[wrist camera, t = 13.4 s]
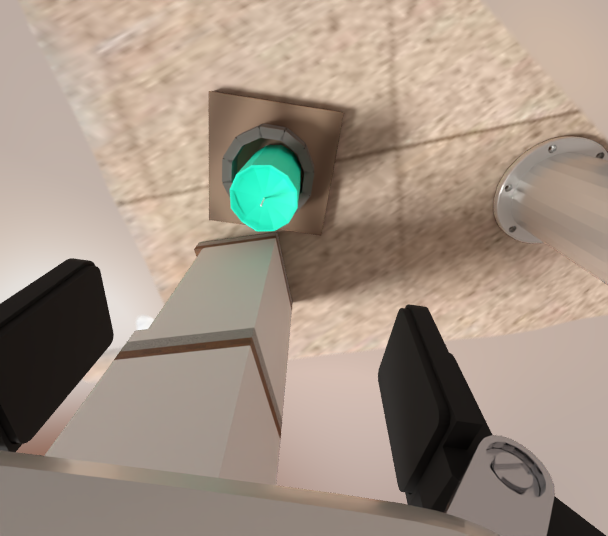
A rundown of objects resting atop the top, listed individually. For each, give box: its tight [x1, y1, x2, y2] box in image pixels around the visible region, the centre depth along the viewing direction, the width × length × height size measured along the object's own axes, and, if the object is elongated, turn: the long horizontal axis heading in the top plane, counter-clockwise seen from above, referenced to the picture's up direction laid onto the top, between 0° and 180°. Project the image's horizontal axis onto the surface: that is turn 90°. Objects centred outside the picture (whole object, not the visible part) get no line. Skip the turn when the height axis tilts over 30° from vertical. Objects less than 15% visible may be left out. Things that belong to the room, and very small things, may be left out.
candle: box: [230, 145, 301, 231], centre depth 31 cm, size 6×6×12 cm
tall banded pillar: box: [45, 232, 292, 485], centre depth 30 cm, size 11×11×35 cm
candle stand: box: [209, 91, 344, 235], centre depth 36 cm, size 14×14×4 cm
